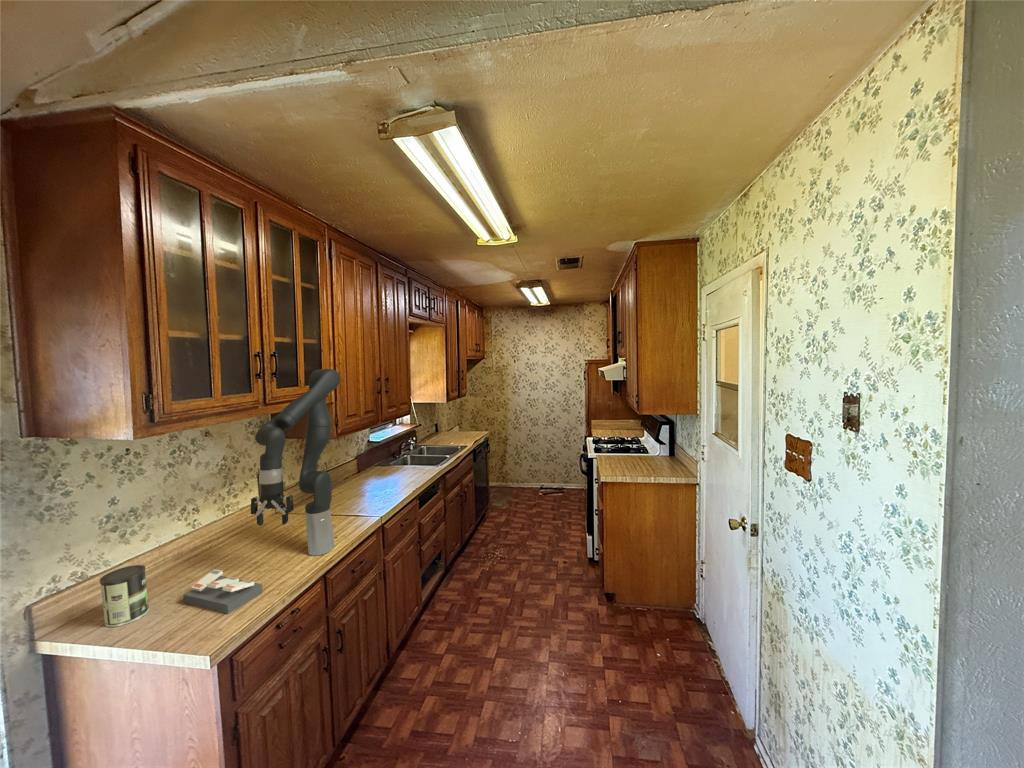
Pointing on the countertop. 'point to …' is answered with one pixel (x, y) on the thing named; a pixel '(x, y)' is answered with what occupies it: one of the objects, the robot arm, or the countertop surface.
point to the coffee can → (124, 595)
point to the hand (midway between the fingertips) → (272, 524)
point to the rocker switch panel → (222, 597)
